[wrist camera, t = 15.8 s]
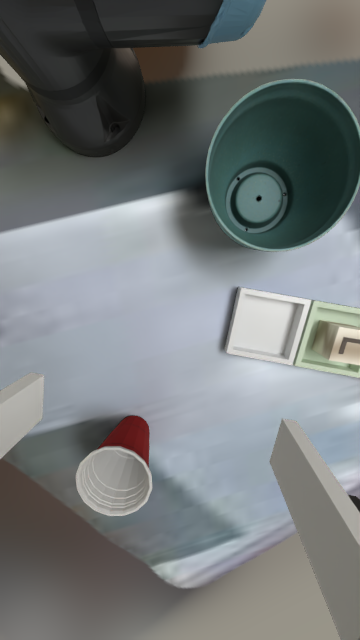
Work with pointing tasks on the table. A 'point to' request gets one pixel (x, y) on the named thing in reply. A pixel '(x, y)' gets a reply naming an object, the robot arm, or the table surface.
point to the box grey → (266, 325)
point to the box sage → (315, 314)
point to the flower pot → (283, 165)
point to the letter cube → (338, 342)
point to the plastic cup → (118, 470)
